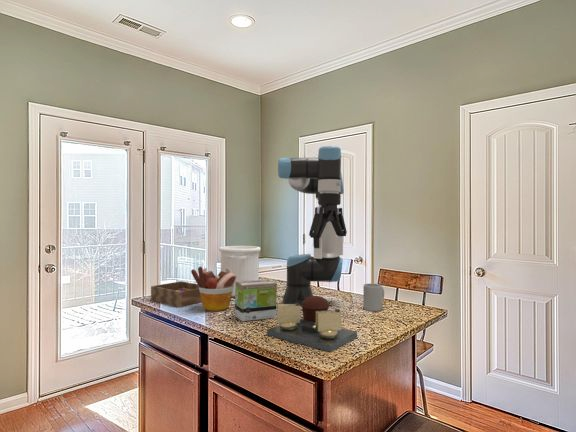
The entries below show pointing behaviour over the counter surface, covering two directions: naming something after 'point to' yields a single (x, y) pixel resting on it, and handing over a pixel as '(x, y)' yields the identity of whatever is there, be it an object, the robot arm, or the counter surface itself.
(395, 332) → the counter surface
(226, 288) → the bucket of meat
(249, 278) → the bucket
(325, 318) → the knob
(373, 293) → the mug
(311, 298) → the muffin
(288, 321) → the knob
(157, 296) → the book tray
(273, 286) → the tea box
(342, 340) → the levelling plate
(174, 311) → the counter surface
